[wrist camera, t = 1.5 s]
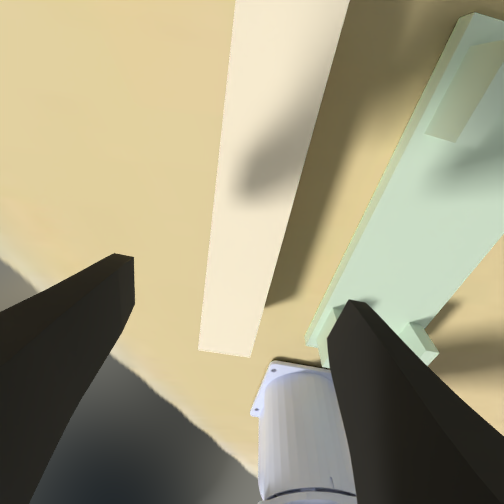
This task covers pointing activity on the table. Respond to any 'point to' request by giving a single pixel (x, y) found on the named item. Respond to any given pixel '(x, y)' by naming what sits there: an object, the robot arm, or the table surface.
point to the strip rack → (431, 197)
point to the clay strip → (262, 155)
